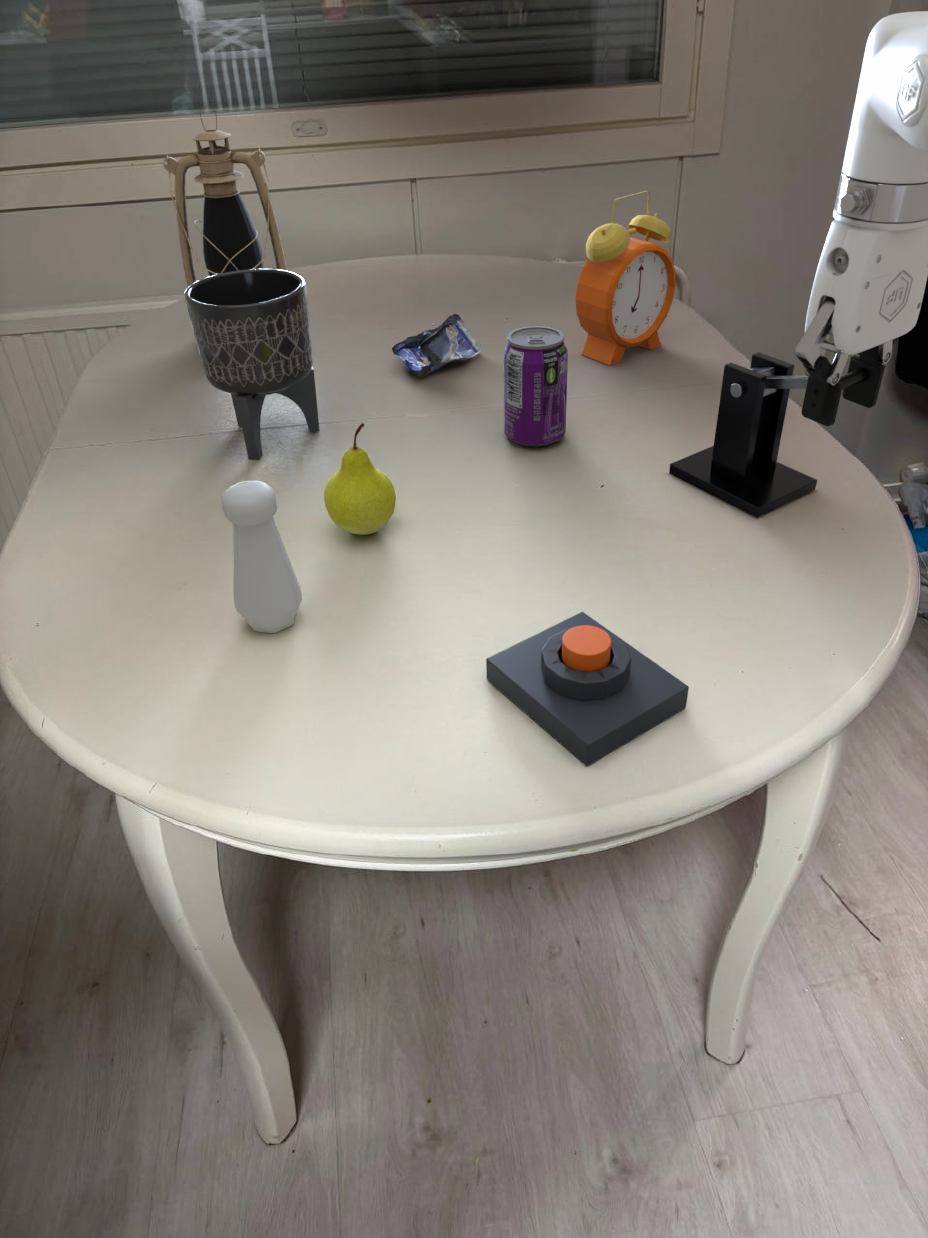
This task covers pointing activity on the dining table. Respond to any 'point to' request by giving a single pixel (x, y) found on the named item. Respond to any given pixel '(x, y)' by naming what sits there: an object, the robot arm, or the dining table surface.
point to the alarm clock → (625, 287)
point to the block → (586, 691)
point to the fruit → (359, 493)
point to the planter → (255, 342)
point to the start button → (586, 648)
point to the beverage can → (535, 385)
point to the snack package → (437, 347)
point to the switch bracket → (747, 445)
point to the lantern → (223, 208)
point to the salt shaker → (260, 559)
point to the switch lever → (805, 379)
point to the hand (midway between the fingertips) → (838, 409)
